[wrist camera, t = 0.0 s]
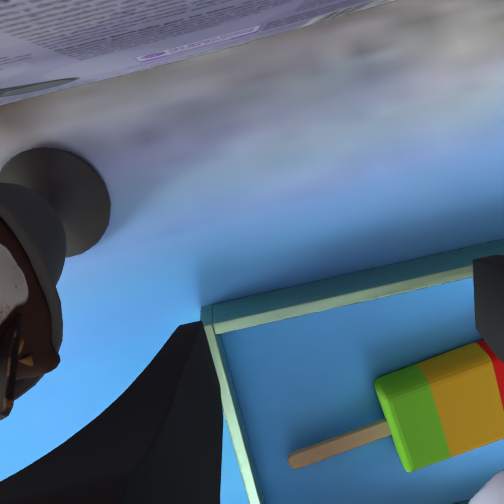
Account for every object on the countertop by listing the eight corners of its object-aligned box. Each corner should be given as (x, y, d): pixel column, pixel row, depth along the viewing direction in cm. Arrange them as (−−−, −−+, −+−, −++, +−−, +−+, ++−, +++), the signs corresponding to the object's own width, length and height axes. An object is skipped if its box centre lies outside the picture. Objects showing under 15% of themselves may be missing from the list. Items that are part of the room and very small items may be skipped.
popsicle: (552, 395, 26) (576, 417, 25) (302, 484, 27) (308, 512, 25) (536, 314, 24) (562, 332, 23) (269, 412, 25) (273, 437, 24)
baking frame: (582, 481, 29) (608, 509, 27) (268, 552, 29) (272, 585, 27) (596, 218, 23) (630, 229, 21) (200, 306, 23) (199, 326, 21)
